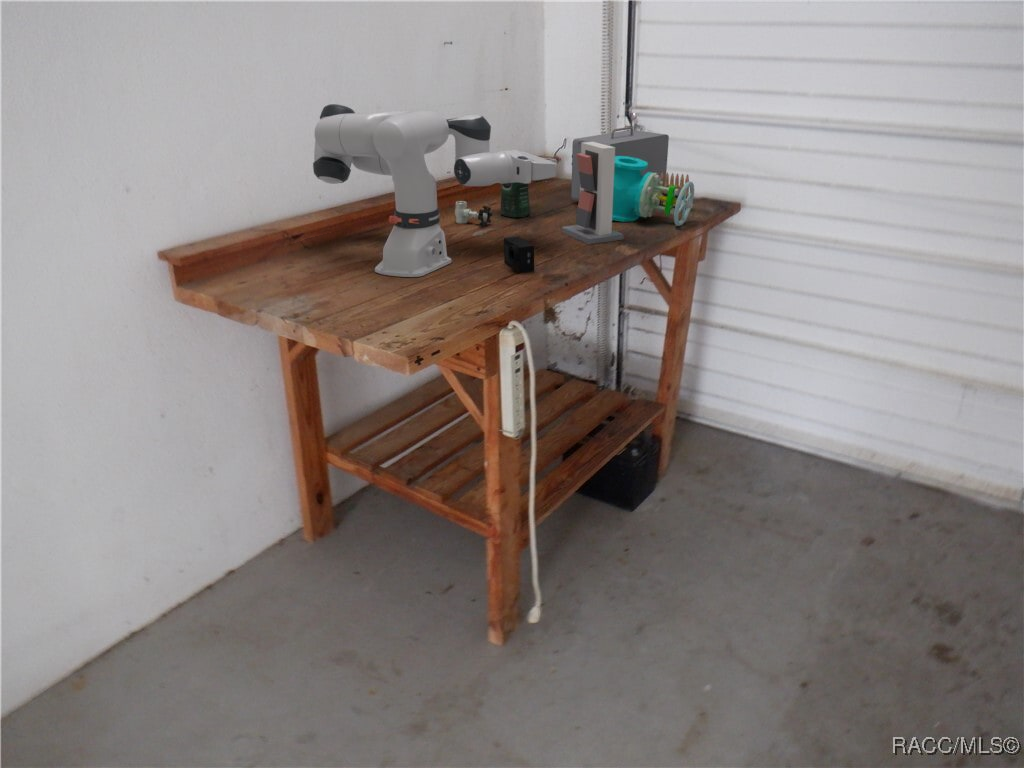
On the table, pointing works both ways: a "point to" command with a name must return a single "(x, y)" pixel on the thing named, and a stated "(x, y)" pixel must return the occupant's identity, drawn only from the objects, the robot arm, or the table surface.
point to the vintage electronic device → (626, 151)
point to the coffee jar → (515, 200)
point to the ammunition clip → (662, 203)
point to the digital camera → (519, 254)
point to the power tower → (598, 197)
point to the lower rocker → (584, 209)
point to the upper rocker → (585, 172)
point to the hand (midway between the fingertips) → (554, 161)
